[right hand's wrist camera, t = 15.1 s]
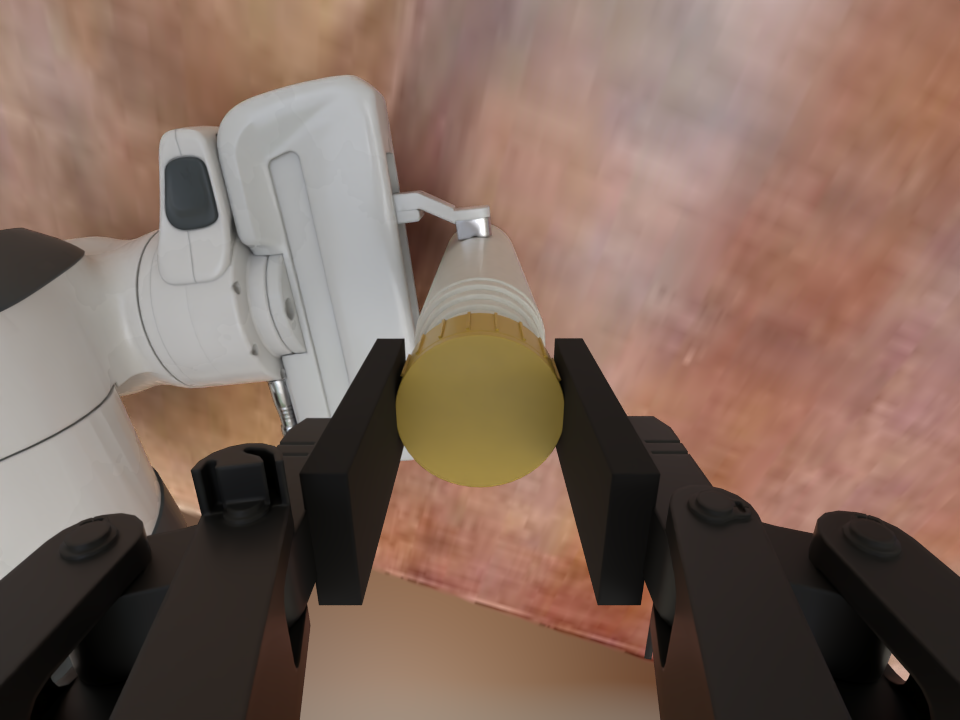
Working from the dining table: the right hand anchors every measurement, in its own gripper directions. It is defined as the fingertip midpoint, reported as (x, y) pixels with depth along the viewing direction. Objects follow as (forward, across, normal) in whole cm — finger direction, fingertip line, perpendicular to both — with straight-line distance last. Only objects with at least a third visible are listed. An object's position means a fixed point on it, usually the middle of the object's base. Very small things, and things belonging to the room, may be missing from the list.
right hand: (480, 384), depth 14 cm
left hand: (+14, -1, 0) cm, 14 cm away
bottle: (+20, 0, 0) cm, 20 cm away
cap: (-2, 0, 0) cm, 2 cm away
